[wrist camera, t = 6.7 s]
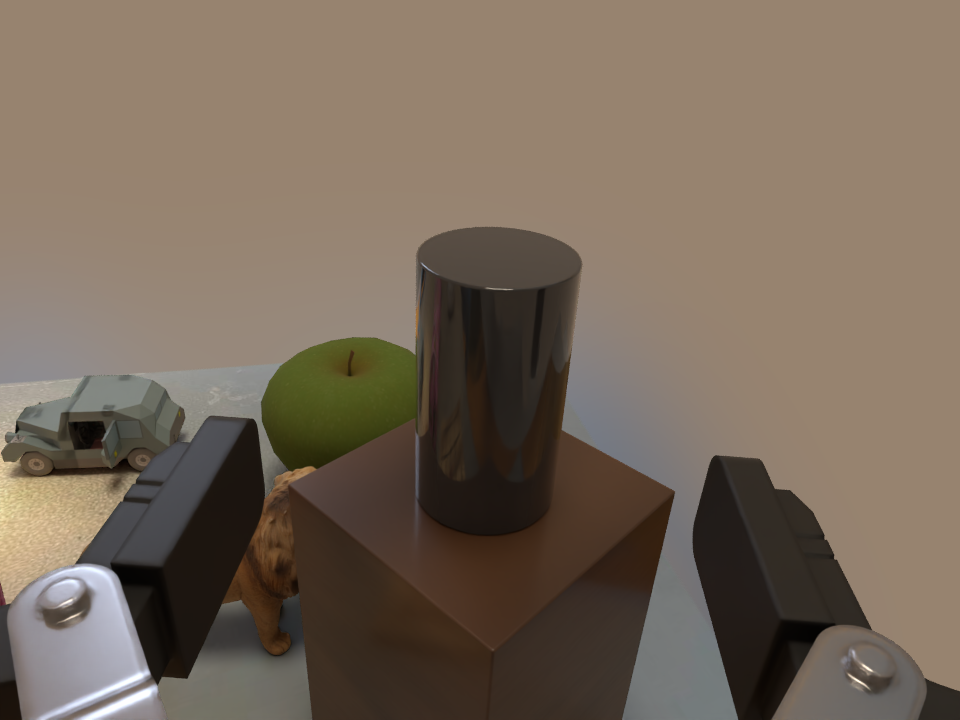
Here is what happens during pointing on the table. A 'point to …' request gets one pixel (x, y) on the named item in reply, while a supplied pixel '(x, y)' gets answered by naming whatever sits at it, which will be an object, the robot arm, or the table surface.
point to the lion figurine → (269, 566)
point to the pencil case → (2, 597)
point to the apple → (337, 399)
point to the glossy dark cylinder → (491, 374)
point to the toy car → (96, 426)
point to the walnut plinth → (473, 592)
